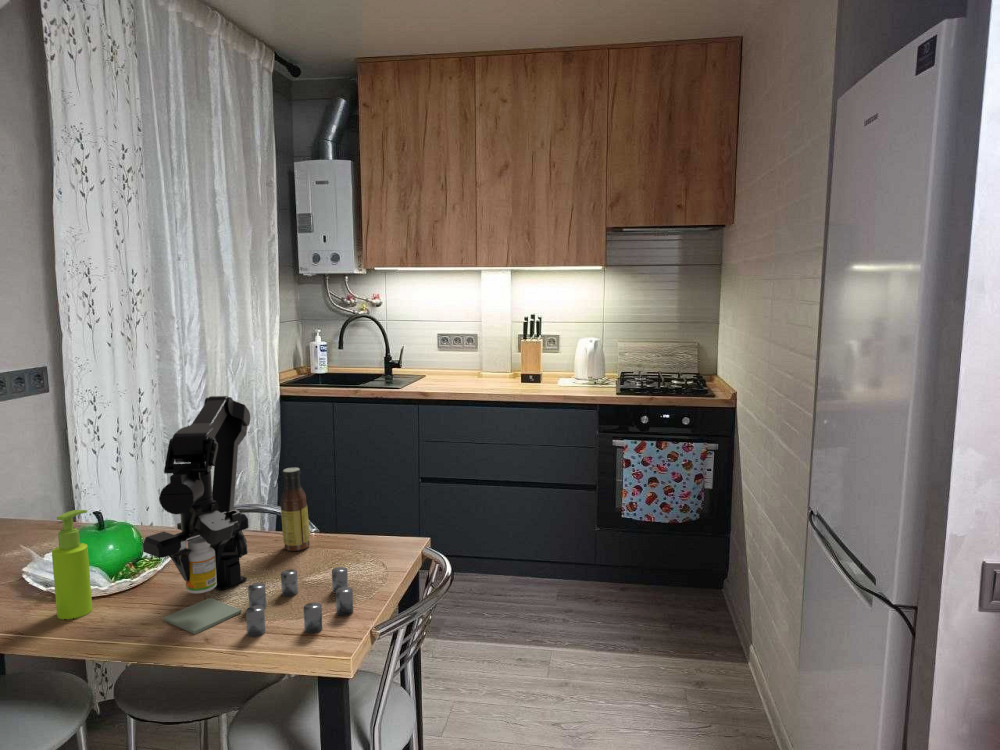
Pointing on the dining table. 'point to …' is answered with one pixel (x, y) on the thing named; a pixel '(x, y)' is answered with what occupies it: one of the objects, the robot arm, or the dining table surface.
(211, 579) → the supplement bottle
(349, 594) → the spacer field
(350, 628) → the dining table surface
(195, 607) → the mat
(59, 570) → the soap dispenser
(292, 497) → the sauce bottle
